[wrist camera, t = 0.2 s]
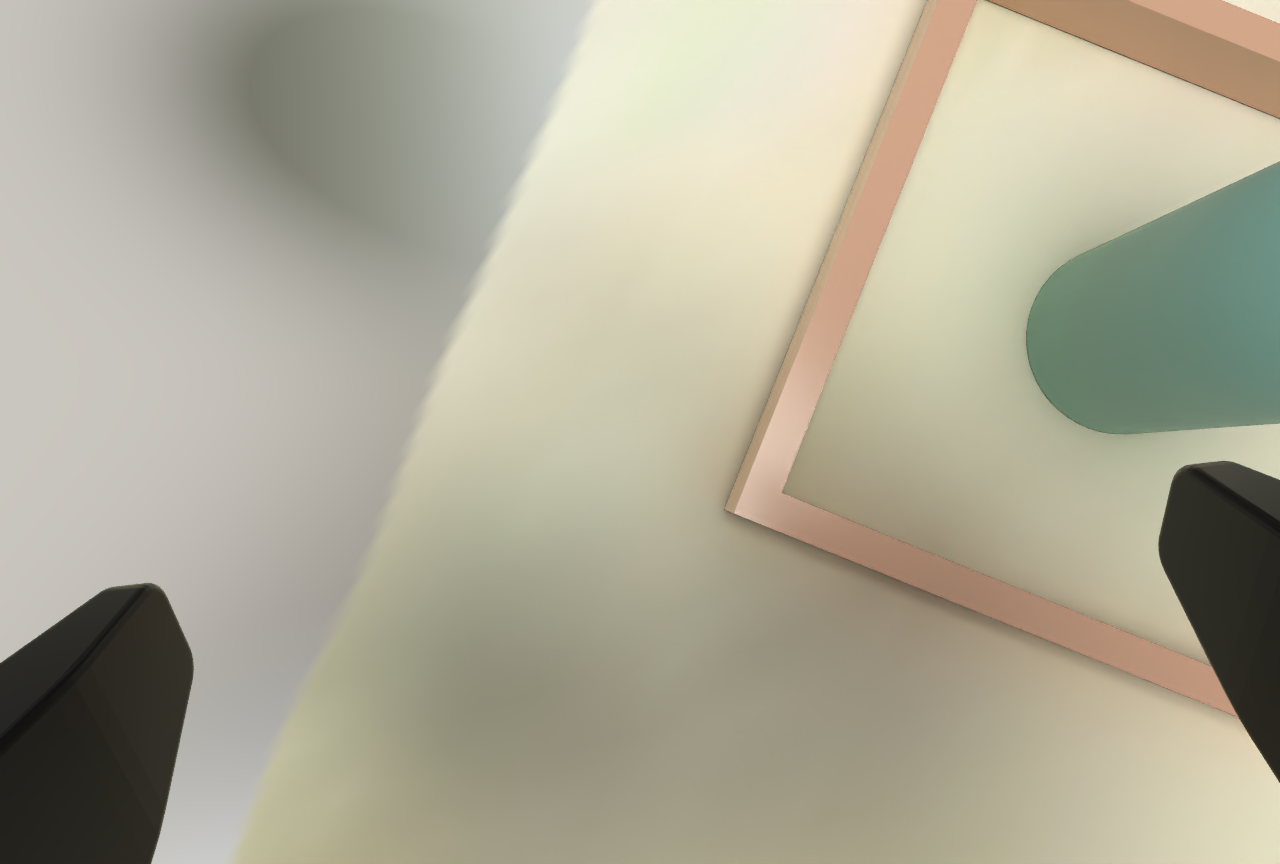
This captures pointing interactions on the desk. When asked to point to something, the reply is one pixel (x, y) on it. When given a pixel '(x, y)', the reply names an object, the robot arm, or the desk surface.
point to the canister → (1170, 319)
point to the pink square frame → (1076, 3)
